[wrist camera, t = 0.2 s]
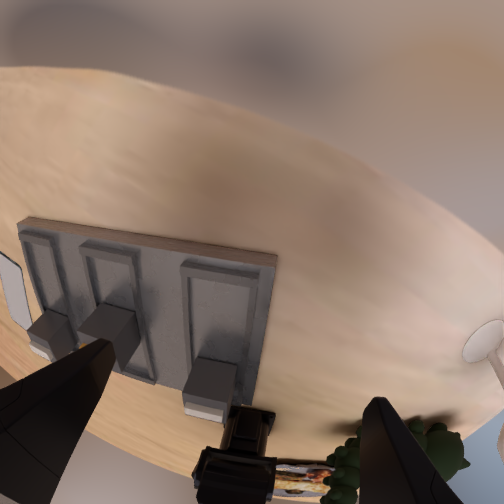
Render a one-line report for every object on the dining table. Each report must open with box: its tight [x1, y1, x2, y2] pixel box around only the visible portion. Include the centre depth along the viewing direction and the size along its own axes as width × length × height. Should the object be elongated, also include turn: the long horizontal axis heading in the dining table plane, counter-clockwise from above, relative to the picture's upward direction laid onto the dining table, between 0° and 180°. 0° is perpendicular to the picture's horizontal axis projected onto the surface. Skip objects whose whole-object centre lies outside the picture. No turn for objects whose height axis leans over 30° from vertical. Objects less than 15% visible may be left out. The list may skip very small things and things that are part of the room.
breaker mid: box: [77, 303, 141, 374], centre depth 23 cm, size 4×4×5 cm
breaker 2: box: [182, 357, 237, 424], centre depth 24 cm, size 4×4×5 cm
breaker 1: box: [26, 309, 77, 362], centre depth 26 cm, size 4×4×5 cm
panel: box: [17, 217, 277, 406], centre depth 26 cm, size 18×28×3 cm, turn 85°
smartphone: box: [0, 251, 33, 330], centre depth 32 cm, size 7×1×15 cm
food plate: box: [273, 463, 335, 497], centre depth 42 cm, size 25×23×4 cm
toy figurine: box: [320, 420, 470, 504], centre depth 23 cm, size 9×19×25 cm
